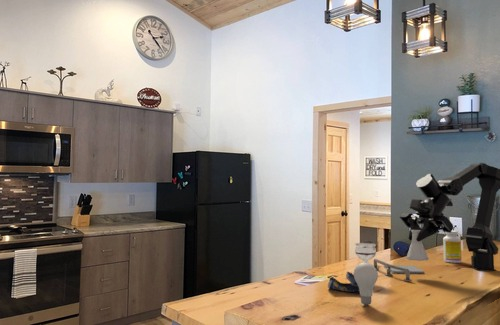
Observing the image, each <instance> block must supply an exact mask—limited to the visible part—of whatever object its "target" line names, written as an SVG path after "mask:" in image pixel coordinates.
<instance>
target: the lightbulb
mask: <svg viewBox="0 0 500 325" xmlns="http://www.w3.org/2000/svg"><path fill="white" fill-rule="evenodd" d="M353 274H354V278H355V280H356V282H357V284H358V287H359V291H358V292H359V295H360V302H361V304H362V305H363V306H365V307H368V306H369V305H371V304H372V296H373V291H374V287H375V285H376V283H377V280H378V278H379V273H378V270H376V268H375V267H374V264H371V263H370V262H367V263H365V262H364V261H363V262H361V263H360V262H359V263H358V264H357V265H356V266H355V268H354V269H353Z"/></svg>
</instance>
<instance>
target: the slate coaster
mask: <svg viewBox="0 0 500 325" xmlns="http://www.w3.org/2000/svg"><path fill="white" fill-rule="evenodd" d="M394 266H398V267H402V268H406V269H408V270H409V273H410V275H411V274H412V275H415V274H416V275H418V274H417V273H426V272H425V270H422V269H421V268H418V267H416V266H415V265H405V264H404V265H396V264H395V265H394ZM383 268H385V269H386V270H387V266H385V265H383ZM390 272H391V274H395V273H400V274H401V275H402V274H403V275H404V273H406V272H405V271H402V270H398V269H394V268H390Z"/></svg>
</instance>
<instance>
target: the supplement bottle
mask: <svg viewBox="0 0 500 325" xmlns="http://www.w3.org/2000/svg"><path fill="white" fill-rule="evenodd" d="M444 233H445V236H443V238H442V243H443V244H442V246H443V249H442V250H443V251H442V252H443V261H444V262H446V263H449V262H450V263H451V264H460V263H462V260H463V259H462V243H461V242H462V239H461V237H459V236H458V234H459V231H458V230H452V231H451V233H449V232H444ZM450 263H449V264H450Z"/></svg>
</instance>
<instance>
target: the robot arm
mask: <svg viewBox="0 0 500 325" xmlns="http://www.w3.org/2000/svg"><path fill="white" fill-rule="evenodd" d="M474 179H477V180H478V184H479V187H480V189H481V191H480V198H479V202H478V207H477V212H476V216H475V220H474V221H475V222H474V224H473V226H469V227H467V229H466V234H465V243H466V247H467V250H468V252H470V253H472V255H471V256H470V257H471V258H470V259H471V260H470V261H471V262H470V263H471V268H473V269H475V270H477V271H488V272H491V271H492V272H496V271H497V270H496V269H495V260H494V259H495V256H496V255H497V254H498V253H499V247H498V246H497V245H496V243H495V242H494V241H493V238H494V235H493V233H492V230H491V229H490V227H491V222H492V217H493V212H494V206H495V202H496V196H497V193H498V192H499V190H500V168H498V167H494V166H491V165H489V164H487V163H485V162H474V163H471V164H469V166H468V167H466V168H464V169H463V170H461V171H460V172H458V173H456V174H454V175H453V176H451V177H445V178H442V179H440V180H438V181H437V180H436V178H435V176H434V175H433V174H432V173H427V174H426V175H425V176H423V177H421V178H420V179H418V180H417V181H416V187H417V188H418V189H419V191H420V192H421V193H422V194H423V195H424V197H425V198H426V199H417V198H415V199H413V198H412V199H411V201H410V203H409V204H410V205H409V209H412V210H413V211H415V214H416V215H414V214H413V213H412V212H402V213H401V214H400V216H399V219H400V220H401V221H402V223H404V225H405V226H406V227H407V228H408V229H409V232H408V240H409V241H412V232H411V230H421V231H420V233H419V235H418V236H417V239H416V240H417V241H418V242H419V241H421V240H426V239H427V238H428V237H431V236H433V235H436V234H439V233H440V232H441V231H440V229H442V232H444V233H445V232H449V233H451V231H453V229H454V224H453V223H452V222H451V220H450V219H449V217H448V216H447V215H444V213H443V212H444V210H445V209H446V207H453V206H454V205H453V202H452V198H449V196H453V197H455V196H458V195H459V194H460V193H461V192H462V191H463V190H464V186H465V185H467V184H468V183H470V182H471V181H472V180H474ZM421 225H423V226H422V227H421ZM494 255H495V256H494Z"/></svg>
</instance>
